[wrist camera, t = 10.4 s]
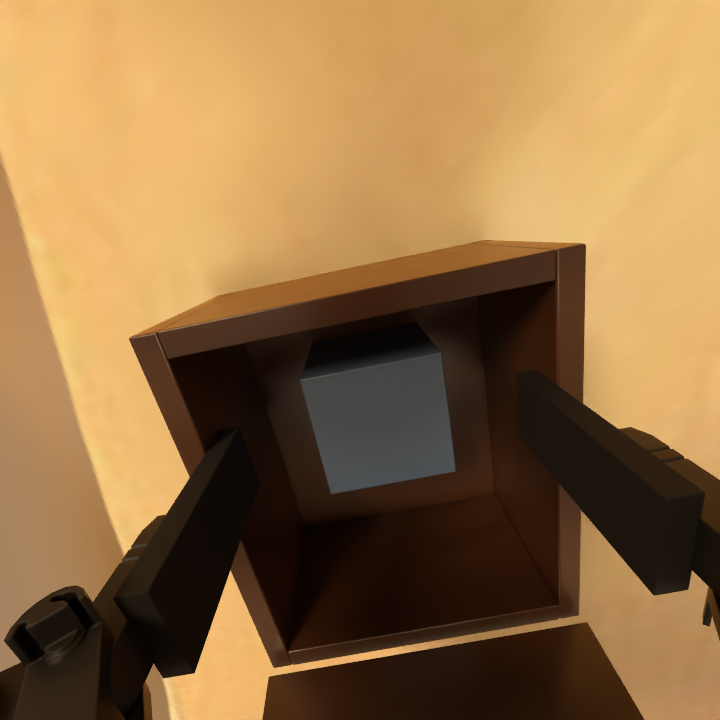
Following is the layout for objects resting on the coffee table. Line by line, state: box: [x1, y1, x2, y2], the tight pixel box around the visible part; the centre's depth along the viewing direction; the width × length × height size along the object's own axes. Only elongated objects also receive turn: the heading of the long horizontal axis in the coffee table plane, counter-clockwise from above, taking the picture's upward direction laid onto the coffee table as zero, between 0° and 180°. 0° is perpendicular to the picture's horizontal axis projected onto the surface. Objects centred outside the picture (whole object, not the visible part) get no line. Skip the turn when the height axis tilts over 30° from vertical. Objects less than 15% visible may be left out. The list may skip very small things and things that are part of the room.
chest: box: [129, 240, 586, 668], centre depth 17 cm, size 16×14×8 cm
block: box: [300, 322, 456, 494], centre depth 17 cm, size 6×6×5 cm
